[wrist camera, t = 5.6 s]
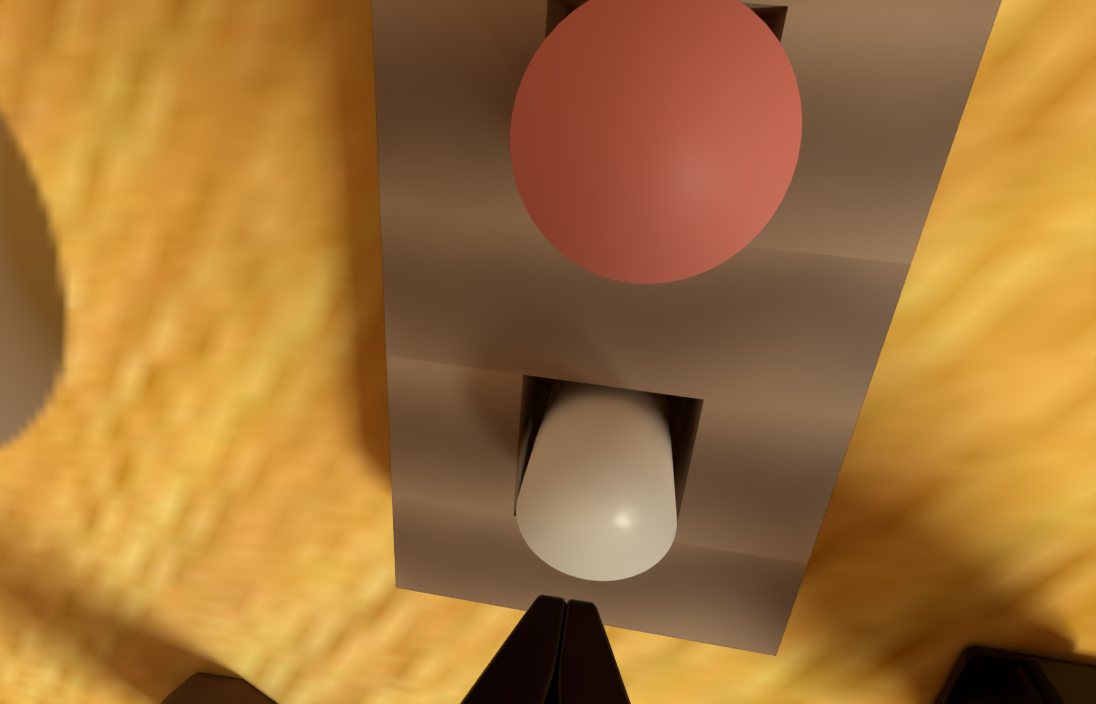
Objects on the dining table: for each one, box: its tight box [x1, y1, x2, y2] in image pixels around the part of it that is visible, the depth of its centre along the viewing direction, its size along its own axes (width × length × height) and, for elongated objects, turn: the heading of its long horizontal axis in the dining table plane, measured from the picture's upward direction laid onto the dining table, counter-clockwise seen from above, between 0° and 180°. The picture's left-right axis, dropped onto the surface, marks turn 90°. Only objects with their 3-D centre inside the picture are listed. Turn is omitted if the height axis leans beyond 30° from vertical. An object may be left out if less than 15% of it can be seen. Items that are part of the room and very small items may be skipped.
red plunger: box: [510, 0, 802, 284], centre depth 12 cm, size 4×4×6 cm
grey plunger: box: [516, 379, 677, 581], centre depth 19 cm, size 4×4×6 cm
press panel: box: [371, 0, 1002, 656], centre depth 18 cm, size 24×14×4 cm, turn 176°
